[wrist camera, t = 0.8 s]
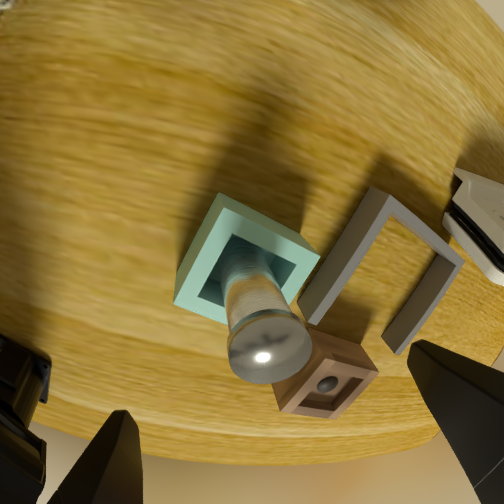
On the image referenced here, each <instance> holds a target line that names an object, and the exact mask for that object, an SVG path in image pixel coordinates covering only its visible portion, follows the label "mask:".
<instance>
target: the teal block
mask: <svg viewBox="0 0 504 504" xmlns="http://www.w3.org/2000/svg"><path fill="white" fill-rule="evenodd" d="M238 237H241V238H243V239H245V240H247V241H249V242H251V243H253V244H255V245H257V246H259V248H260V250H261V252H262V254H263V256H264V258H265V260H266V262H267V264H268V266H269V268H270V269H271V271H272V273H273V275H274V277H275V279H276V281H277V283H278V285H279V287H280V289H281V291H282V293H283V295H284V297H285V299H286V301H287V303H288V305H289V304H290V303H291V301H292V300H293V298H294V297H295V295H296V294H297V292H298V291H299V289H300V288H301V286H302V285H303V283H304V282H305V280H306V279H307V277H308V276H309V274H310V273H311V271H312V269H313V268H314V266H315V265H316V263H317V262H318V260H319V259H320V257H321V256H320V255H319V254H318V253H317V252H316V251H315V250H314V249H313V248H312V247H311V246H310V244H309V243H308V242H307V241H306V240H305V239H304V238H303V237H302V236H301V235H300V234H299V233H297V232H295V231H293V230H291V229H289V228H288V227H286V226H284V225H282V224H280V223H278V222H276V221H274V220H272V219H271V218H269V217H267V216H265V215H263V214H261V213H259V212H257V211H255V210H253V209H251V208H250V207H248V206H246V205H244V204H242V203H240V202H238V201H236V200H234V199H232V198H230V197H228V196H226V195H224V194H222V193H220V192H218V194H217V196H216V198H215V200H214V201H213V203H212V205H211V207H210V209H209V211H208V213H207V214H206V216H205V218H204V220H203V222H202V224H201V226H200V228H199V230H198V232H197V234H196V235H195V237H194V239H193V241H192V243H191V245H190V247H189V249H188V251H187V253H186V255H185V257H184V259H183V261H182V263H181V265H180V267H179V269H178V271H177V273H176V281H175V291H174V301H173V304H174V305H177V306H179V307H182V308H184V309H187V310H189V311H192V312H194V313H197V314H200V315H202V316H205V317H207V318H210V319H213V320H215V321H218V322H221V323H223V324H226V325H228V322H227V316H226V311H225V305H224V299H223V293H222V287H221V281H220V275H219V269H218V263H217V260H218V258H219V256H220V254H221V252H222V251H223V249H224V247H225V245H226V244H227V242H228V241H229V240H231V239H233V238H238Z"/></svg>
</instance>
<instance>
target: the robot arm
mask: <svg viewBox="0 0 504 504" xmlns="http://www.w3.org/2000/svg"><path fill="white" fill-rule="evenodd" d="M407 365H408V368H409V370H410V372H411V374H412V376H413V378H414V380H415V383H416V385H417V387H418V389H419V391H420V393H421V395H422V397H423V399H424V401H425V403H426V405H427V407H428V408H429V410H430V412H431V413H432V415H433V417H434V418H435V420H436V422H437V423H438V425H439V427H440V429H441V430H442V432H443V434H444V435H445V437H446V439H447V440H448V442H449V444H450V446H451V447H452V449H453V451H454V453H455V455H456V456H457V458H458V460H459V461H460V464H461V466H462V468H463V469H464V471H465V473H466V475H467V477H468V479H469V481H470V483H471V484H472V486H473V488H474V491H475V492H476V494H477V496H478V498H479V500H480V502H481V504H504V373H503V372H501V371H499V370H496V369H494V368H491V367H489V366H486V365H484V364H482V363H479V362H477V361H474V360H472V359H469V358H467V357H465V356H462V355H460V354H457V353H455V352H453V351H450V350H448V349H445V348H443V347H441V346H438V345H436V344H433V343H431V342H429V341H426V340H423V339H421V340H418V341H416V342H414V343H412V344H411V347H410V351H409V355H408V359H407ZM51 367H52V365H51V363H50V362H49V361H48V360H46V359H44V358H42V357H40V356H38V355H36V354H34V353H32V352H30V351H28V350H27V349H25V348H23V347H21V346H19V345H17V344H16V343H14V342H12V341H10V340H9V339H7V338H5V337H4V336H2V335H0V504H36V502H37V499H38V497H39V495H40V494H41V492H42V491H43V488H44V485H45V481H46V445H47V443H46V442H45V441H44V440H43V439H40V438H38V437H37V436H36V435H35V434H33V433H32V432H31V431H29V430H28V427H29V425H30V422H31V419H32V416H33V414H34V411H35V409H36V406H37V403H38V401H39V402H41V403H44V404H46V403H47V400H48V392H49V383H50V375H51ZM47 504H143V469H142V460H141V449H140V438H139V429H138V426H137V424H136V422H135V421H134V419H133V418H132V416H131V415H130V413H129V412H128V411H127V410H115V411H113V412H112V413H111V415H110V416H109V418H108V419H107V420H106V422H105V423H104V424H103V426H102V427H101V429H100V430H99V431H98V433H97V434H96V435H95V437H94V438H93V440H92V441H91V442H90V444H89V445H88V447H87V448H86V449H85V451H84V452H83V453H82V455H81V456H80V458H79V459H78V460H77V462H76V463H75V465H74V466H73V467H72V469H71V470H70V472H69V473H68V474H67V476H66V477H65V479H64V480H63V481H62V483H61V484H60V486H59V487H58V490H56V491H55V493H54V494H53V495H52V497H51V498H50V500H49V501H48V502H47Z"/></svg>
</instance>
